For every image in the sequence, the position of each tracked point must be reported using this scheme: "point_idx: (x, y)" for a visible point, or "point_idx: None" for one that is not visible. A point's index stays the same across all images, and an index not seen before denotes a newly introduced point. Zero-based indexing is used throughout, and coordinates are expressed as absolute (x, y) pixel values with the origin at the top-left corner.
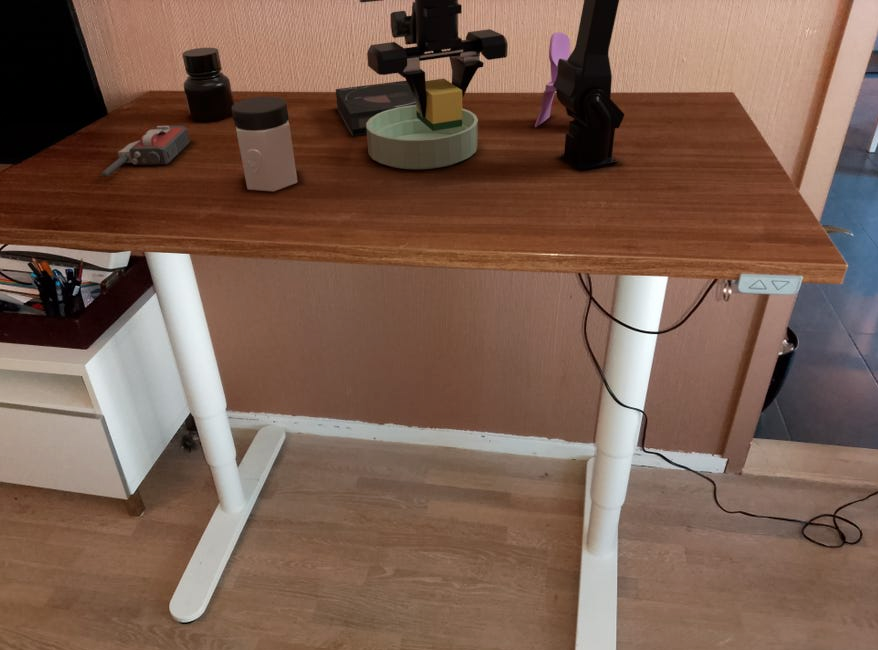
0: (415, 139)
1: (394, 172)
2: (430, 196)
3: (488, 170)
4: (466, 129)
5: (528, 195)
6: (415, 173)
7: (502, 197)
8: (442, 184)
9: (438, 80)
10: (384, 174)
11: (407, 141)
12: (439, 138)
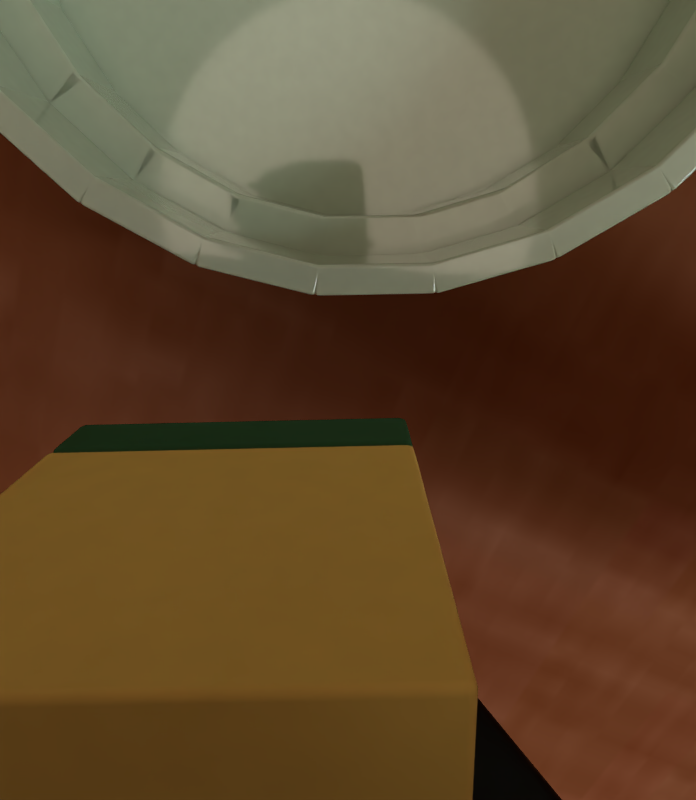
0: (177, 232)
1: None
2: None
3: (590, 385)
4: (642, 183)
5: (594, 695)
6: None
7: (490, 675)
8: None
9: (296, 785)
10: (31, 192)
11: (114, 221)
12: (360, 294)
